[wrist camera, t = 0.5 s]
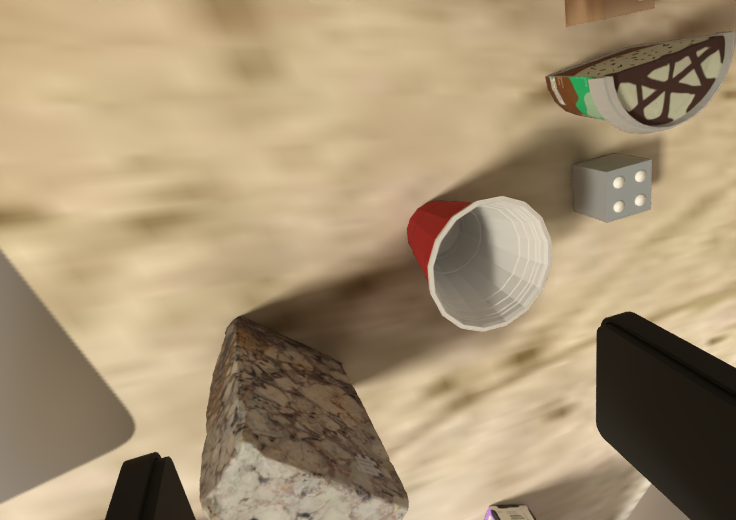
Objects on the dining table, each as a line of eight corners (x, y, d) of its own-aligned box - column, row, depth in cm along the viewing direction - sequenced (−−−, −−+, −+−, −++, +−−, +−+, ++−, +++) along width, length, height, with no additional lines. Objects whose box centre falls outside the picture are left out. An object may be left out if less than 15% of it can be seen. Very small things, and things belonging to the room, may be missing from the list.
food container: (541, 145, 48) (613, 157, 39) (531, 81, 45) (606, 78, 36) (647, 104, 49) (741, 107, 40) (642, 41, 47) (741, 29, 38)
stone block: (355, 352, 50) (424, 503, 32) (323, 407, 51) (372, 583, 33) (234, 305, 45) (234, 451, 27) (202, 367, 46) (181, 547, 28)
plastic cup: (504, 229, 50) (580, 267, 39) (426, 299, 50) (480, 357, 39) (445, 148, 45) (512, 166, 34) (360, 226, 46) (400, 268, 35)
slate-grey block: (571, 164, 49) (607, 172, 45) (613, 153, 50) (653, 159, 46) (573, 210, 51) (608, 223, 47) (614, 199, 52) (652, 209, 47)
